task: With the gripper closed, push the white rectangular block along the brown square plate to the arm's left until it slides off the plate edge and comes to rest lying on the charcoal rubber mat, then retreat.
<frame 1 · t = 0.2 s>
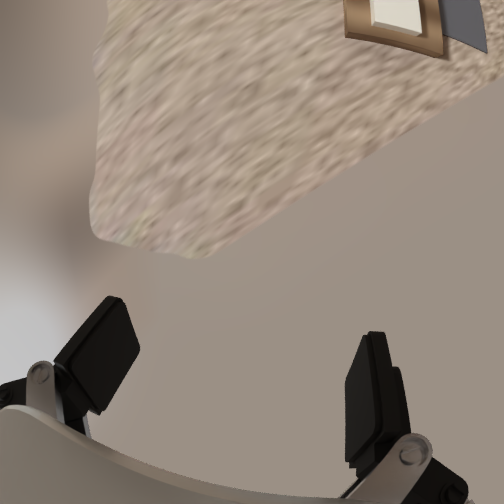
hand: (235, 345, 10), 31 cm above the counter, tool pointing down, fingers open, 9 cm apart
white rectangular block: (392, 2, 20), point 3 cm above the counter, touching brown square plate
mat: (457, 12, 19), on the counter
brown square plate: (389, 7, 22), on the counter
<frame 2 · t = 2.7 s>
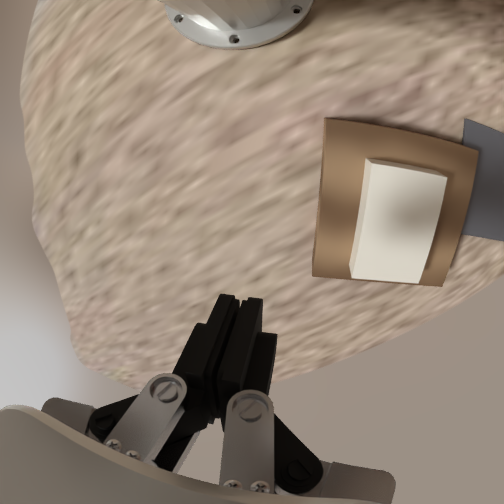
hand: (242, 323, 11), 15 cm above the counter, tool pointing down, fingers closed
white rectangular block: (393, 219, 20), point 3 cm above the counter, touching brown square plate
mat: (493, 186, 19), on the counter
brown square plate: (390, 201, 22), on the counter
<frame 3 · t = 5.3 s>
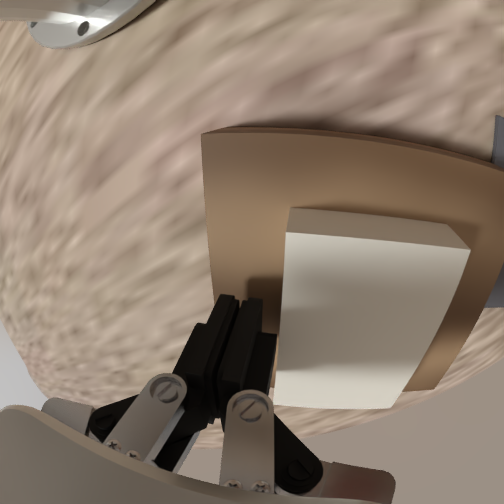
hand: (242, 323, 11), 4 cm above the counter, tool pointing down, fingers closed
white rectangular block: (353, 315, 11), point 3 cm above the counter, touching gripper
brown square plate: (357, 268, 13), on the counter
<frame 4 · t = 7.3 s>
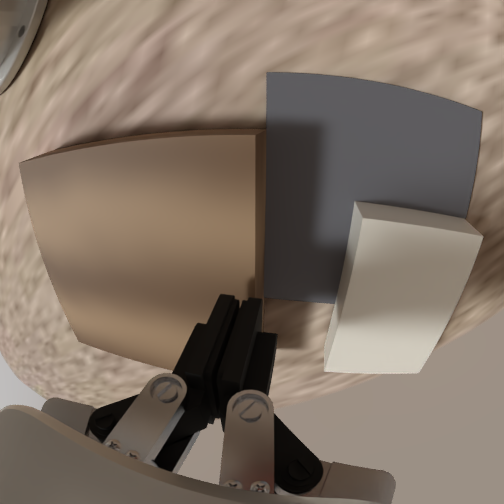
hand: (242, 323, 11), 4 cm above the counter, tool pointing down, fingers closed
white rectangular block: (401, 315, 12), point 2 cm above the counter, tilted 180°, touching mat
mat: (375, 205, 12), on the counter
brown square plate: (150, 251, 15), on the counter
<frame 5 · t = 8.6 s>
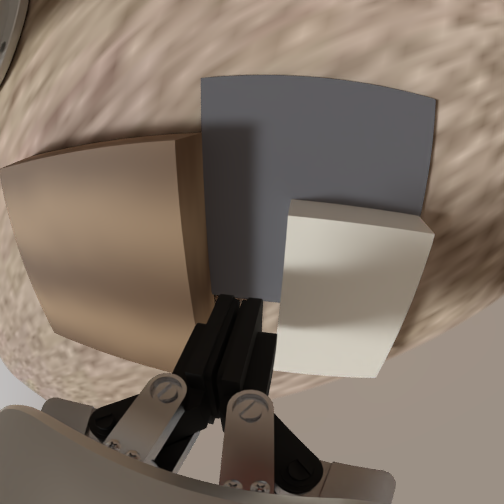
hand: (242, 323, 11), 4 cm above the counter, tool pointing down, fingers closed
white rectangular block: (344, 316, 12), point 2 cm above the counter, tilted 180°, touching mat
mat: (315, 202, 12), on the counter
brown square plate: (111, 249, 16), on the counter
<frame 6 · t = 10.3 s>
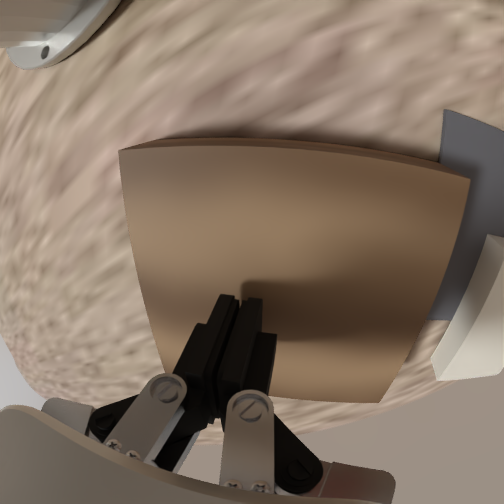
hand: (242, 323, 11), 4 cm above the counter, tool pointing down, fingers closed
mat: (496, 237, 10), on the counter
brown square plate: (287, 274, 14), on the counter
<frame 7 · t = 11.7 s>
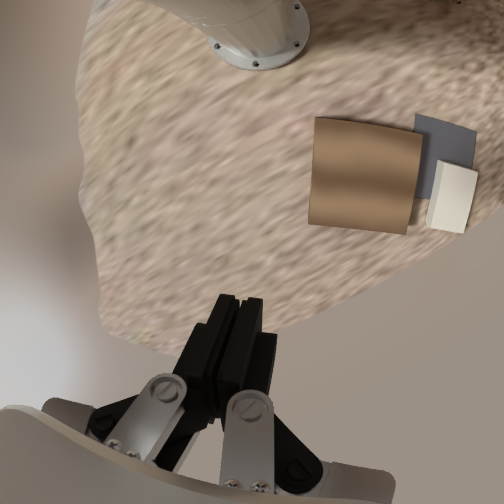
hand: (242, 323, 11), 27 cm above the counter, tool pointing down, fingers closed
white rectangular block: (455, 199, 29), point 2 cm above the counter, tilted 180°, touching mat
mat: (443, 161, 29), on the counter
brown square plate: (362, 173, 33), on the counter
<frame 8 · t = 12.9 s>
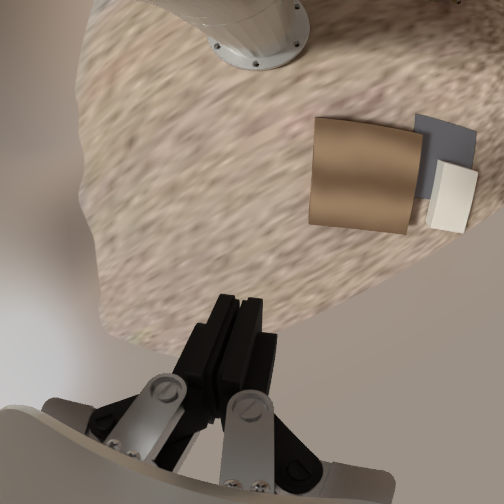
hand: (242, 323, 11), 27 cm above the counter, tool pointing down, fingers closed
white rectangular block: (455, 199, 29), point 2 cm above the counter, tilted 180°, touching mat
mat: (443, 161, 29), on the counter
brown square plate: (362, 173, 33), on the counter
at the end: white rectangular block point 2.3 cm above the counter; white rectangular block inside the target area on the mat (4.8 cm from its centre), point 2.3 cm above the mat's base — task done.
